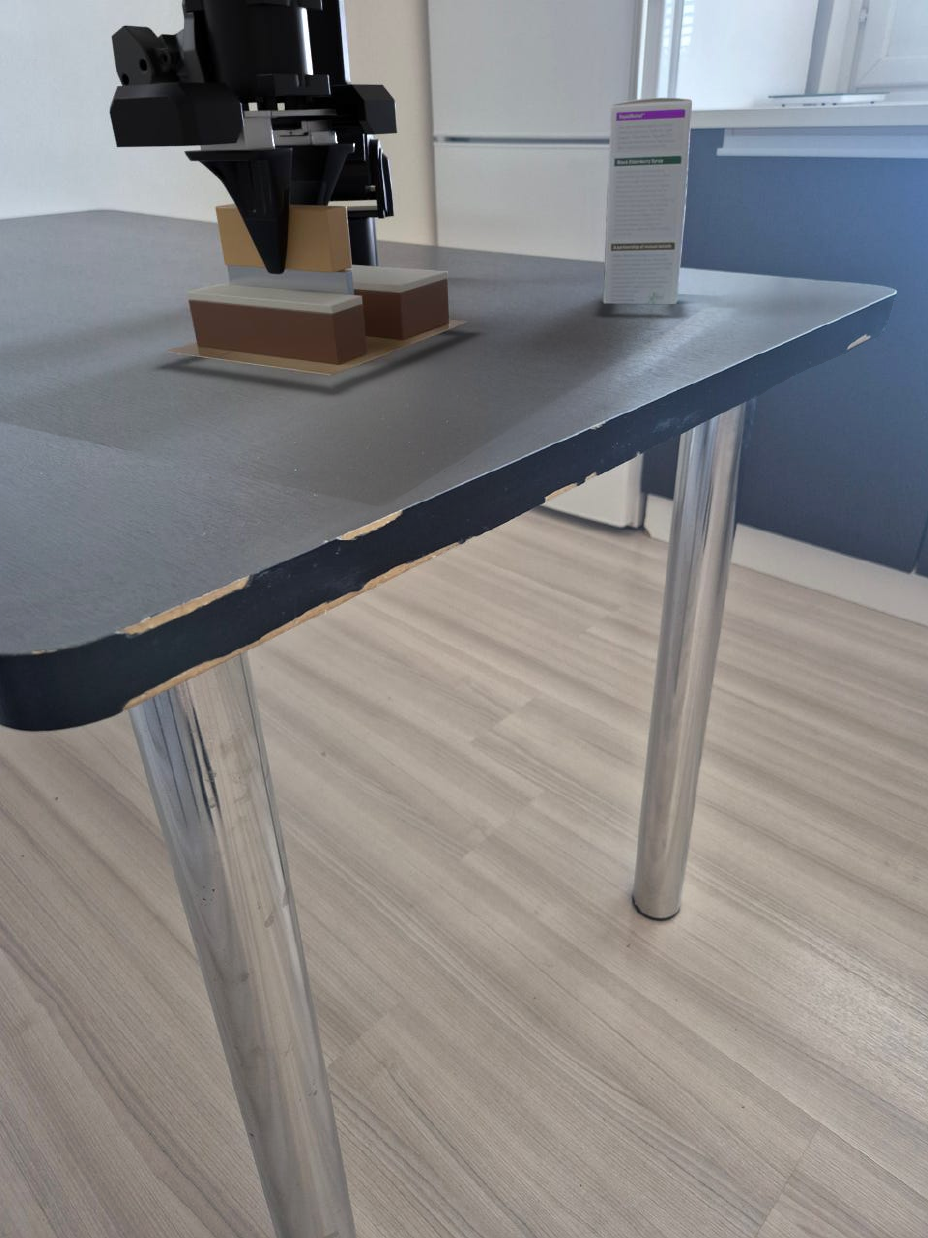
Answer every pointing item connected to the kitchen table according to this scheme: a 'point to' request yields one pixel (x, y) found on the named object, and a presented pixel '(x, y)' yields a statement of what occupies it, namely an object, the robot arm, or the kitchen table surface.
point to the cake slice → (279, 322)
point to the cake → (401, 300)
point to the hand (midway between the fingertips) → (288, 270)
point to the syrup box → (646, 200)
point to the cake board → (374, 350)
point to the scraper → (292, 251)
